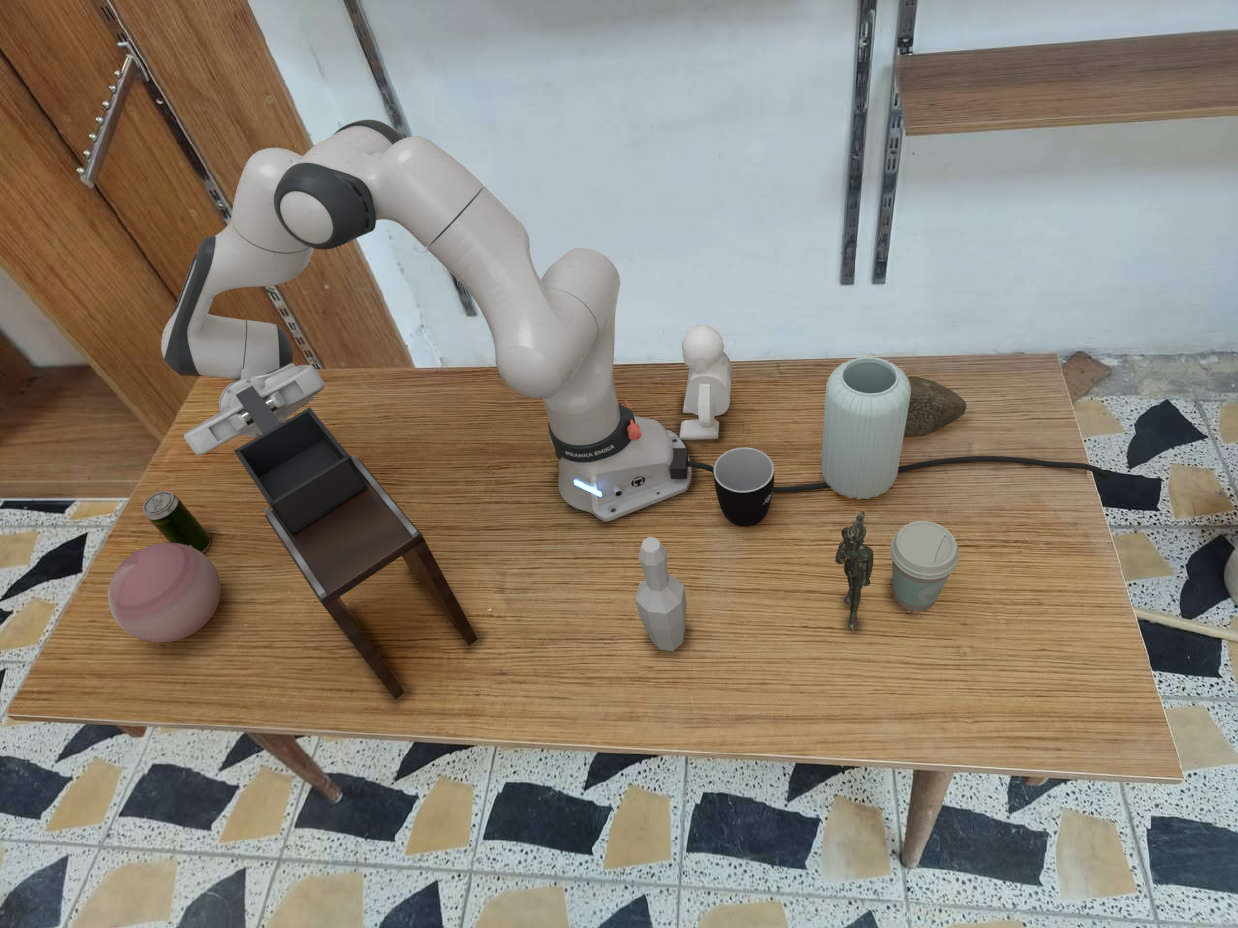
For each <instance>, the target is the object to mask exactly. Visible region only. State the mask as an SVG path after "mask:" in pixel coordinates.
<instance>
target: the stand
mask: <svg viewBox="0 0 1238 928" xmlns="http://www.w3.org/2000/svg"><path fill="white" fill-rule="evenodd" d="M350 457H351V458H352V460H353V462H354V464H355V465H356V467H357V469H358V471H359V472H360V474H361V476H362V478H363V479H364V481H365V483H366V485H367V486H368V488H367V489H365V490H363V491H362V492H360V493H359V494H357V495H355V496H354V497H352V498H351V499H349V500H347V501H346V502H344V503H343V504H341V505H339V506H338V507H336V508H335V509H333V510H331V511H330V512H328V513H327V514H325V515H323V516H322V517H320V518H319V519H317V520H315V521H314V522H312V523H311V524H309V525H307V526H306V527H304V528H303V529H301V530H299V531H298V532H296V533H295V534H293V535H291V534H290V532H289V531H288V529H287V528H286V527H285V525H284V524H283V523H282V521H281V520H280V519H279V517H278V516H277V514H276V513H275V512H274V510H273V509H272V508H271V507H270V506H268V507H266V508H264V509H263V513H265V514H264V515H263V516H264V518H265V519H266V521H267V522H268V523H269V524H268V525H270V527H271V528H272V531H274V533H275V535H276V536H277V538H278V539H279V542H280V543H281V544H282V545H283V547H284V549H285V550H286V552H287V553H288V555H289V557H290V558H291V559H292V561H293V562H294V564H295V566H296V567H297V568H298V570H299V572H300V574H301V575H302V576H303V578H304V579H305V581H306V582H307V584H308V585H309V587H310V588H311V590H312V592H313V593H314V595H315V596H316V598H317V599H318V601H319V603H320V604H321V605H322V606H323V607H324V609H325V610H326V611H327V613H328V614H329V615H330V617H331V618H332V620H334V621H335V623H336V625H337V626H338V627H339V629H340V630H341V631H342V632H343V634H344V636H346V637H347V639H348V640H349V641H350V643H351V644H352V646H353V647H354V648H355V649H356V651H357V652H358V653H359V655H360V656H361V657H362V658H363V659H364V661H365V663H366V664H367V665H368V666H369V668H370V669H371V671H372V672H373V673H374V674H375V676H376V677H378V679H379V680H380V682H381V683H382V685H383V686H384V687H385V689H386V690H387V691H388V692H389V694H390V695H391V696H392V697H393V699H394V700H397V699H398V698H400V697H401V696H403V695H404V694H405V691H404V688H403V687H402V686H401V684H400V682H399V681H398V680H397V679H396V677H395V675H394V673H393V672H392V670H390V668H389V667H388V666H387V663H386V662H385V660H384V659H383V658H382V656H381V655H380V653H379V652H378V650H377V649H376V647H375V646H374V645H373V642H372V641H371V640H370V638H369V637H368V635H367V634H366V633H365V631H364V629H363V628H362V627H361V625H360V623H359V622H358V621H357V619H356V618H355V616H354V615H353V613H352V612H351V610H350V609H349V607H347V605H346V604H345V602H344V600H343V599H342V598H341V597H342V596H344V595H345V594H346V593H348V592H350V591H352V590H353V589H354V588H356V587H357V586H359V585H360V584H362V583H363V582H365V581H366V580H367V579H370V578H371V577H372V576H373V575H375V574H377V573H378V572H380V571H381V570H383V569H384V568H385V567H387V566H388V565H390V564H392V563H393V562H395V561H396V560H398V559H399V558H401V557H402V560H404V562H405V564H406V566H407V567H408V569H409V571H410V573H411V574H412V575H413V576H414V578H415V579H416V580H417V582H418V583H419V584H420V586H421V587H422V588H423V590H424V591H425V592H426V593H427V594H428V596H429V597H430V598H431V599H432V601H433V602H434V604H435V605H436V606H437V607H438V608H439V610H440V611H441V613H443V615H444V616H445V617H446V619H447V620H448V621H449V623H450V624H451V625H452V626H453V628H454V629H455V630H456V632H457V633H458V634H459V635H460V637H461V638H462V639H463V640H464V642H465V643H466V645H467V646H469V647H470V646H471V645H473V643H475V642H476V641H478V639H479V638H478V637H477V635H476V633H475V631H474V629H473V627H472V625H471V624H470V622H469V620H468V618H467V616H466V614H465V613H464V612H465V611H464V610H463V609H462V606H461V605H460V603H459V601H458V599H457V598H456V596H455V594H454V592H453V590H452V588H451V586H450V584H449V582H448V581H447V579H446V577H445V575H444V573H443V571H442V569H441V568H440V565H439V564H438V562H437V560H436V558H435V556H434V554H433V552H432V551H431V548H430V547H429V545H428V543H427V541H426V539H425V537H424V536H423V534H422V533H421V531H420V530H419V529H418V527H417V526H416V525H415V524H414V523H413V522H412V520H411V519H410V518H409V516H407V514H406V513H405V512H404V511H403V509H402V508H401V507H400V505H398V504H397V502H396V501H395V500H394V499H393V497H392V496H391V495H390V493H389V492H388V491H387V490H386V489H385V488H384V487H383V486H382V484H381V483H380V482H379V480H378V479H377V478H376V477H375V476H374V475H373V473H372V472H371V471H370V470H369V469H368V467H367V466H366V465H365V463H364V462H363V461H362V460H361V459H360V458H359V457H357V456H356V455H355V454H354V455H352V456H350Z"/></svg>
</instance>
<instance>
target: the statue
mask: <svg viewBox="0 0 1238 928" xmlns="http://www.w3.org/2000/svg"><path fill="white" fill-rule="evenodd" d="M865 514H866V512H865V511H864V510H860V512H859V514H858V515H856V517H855V522H854V523H853V524H852V525H850V526H845V527H844V528H842V529H841V536H842V539H843V541H840V542H839V544H838V546H837V550H836V553H835V563H836V564H838V565H843V572H844V575H845V576H846V578H847V579H846V580H847V583H848V584H847V585H848V591H847V594H846V595H845V597H844V598H843V602H844V604H845V605H847V606H850V610H849V620H848V625H847V626H848V627H847V628H848V629H849V630H850V631H854V630H856V629H857V627H858V622H857V620H858V619H857V614H858V609H859V605H860V603H861V598H862V589H863V587H864V588H866V587H869V586H870V585H871V575H872V572H873V567H874V550H873V549H872V547H870V546H868V545H866V544H864V543H865V540H864V538H865V537H866V535H867V527H866V526H865V524H864V521H865V516H866V515H865Z"/></svg>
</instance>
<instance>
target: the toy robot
mask: <svg viewBox="0 0 1238 928" xmlns="http://www.w3.org/2000/svg"><path fill="white" fill-rule="evenodd" d="M724 349H725V345H724V340H723V337H722V335H721V333H720V332H719V331H718V330H717V329H715V327H713V326H711V325H709V324H697V325H696V326H693V327H692V328H690V329H689V330H688V331H687V332H686V333H685V334H684V336H683V338H682V341H681V350H682V358H683V362H684V364H685V366H687V367H688V374H687V382H686V389H685V396H684V400H683V408H682V414H693V415H695V416H698V418H696V419H686V420H683V421H681V423H680V429H679V435H678V437H679V438H680V439H681V441H696V440H697V441H700V440H719V433H720V432H719V431H720V421H719V420H717V419H716V418H715V417H717V416H722V415H723V414H725V413H726V412H727V411H728V409H729V408H730V402H731V391H732V378H733V366H732V362H731V359H730V358H729V356H728V354H727V353H726V352H725V351H724Z"/></svg>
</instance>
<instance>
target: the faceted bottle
mask: <svg viewBox="0 0 1238 928" xmlns="http://www.w3.org/2000/svg"><path fill="white" fill-rule="evenodd" d="M638 561H639V564H640V566H641V568H642V571H643V576H644V579H643V580H642V581H641V582H640V583H639V584H638V587H637V591H636V596H635V604H636V608H637V613H638V616H639V618H640V621H641V622H642V625H643V627H644V629H645V631H646V633H647V636H648V637H649V639H650V641H651V642H652V643H653V644H654V645H655V646H656V647H657V648H658V649H659V650H661V651H667V652H669V651H670V652H674V651H675V650H676V649H678V648H679V647H680V646H681V645H682V644H684V643H683V642H684V638H685V632H686V620H687V605H688V601H687V596H686V595H687V594H686V588H685V585H683V583H682V582H680V581H679V579H678V578H676V577H675V576H674V575H673V574H669V570H668V563H667V562H668V550H667V549H666V547H665V546H664V545H663V544H662V542H661V541H660V540H659V539H657V538H656V537H650V536H648V537H646V538H645V539H644V540H642V543H641V546H640V550H639V555H638Z"/></svg>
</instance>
